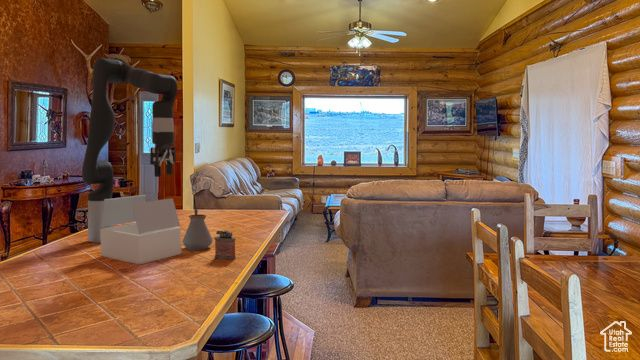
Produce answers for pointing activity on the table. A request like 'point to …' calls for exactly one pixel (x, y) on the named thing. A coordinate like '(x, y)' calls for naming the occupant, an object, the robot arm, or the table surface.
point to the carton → (139, 243)
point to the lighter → (225, 245)
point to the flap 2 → (155, 215)
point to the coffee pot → (197, 233)
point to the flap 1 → (119, 210)
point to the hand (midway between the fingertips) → (163, 175)
